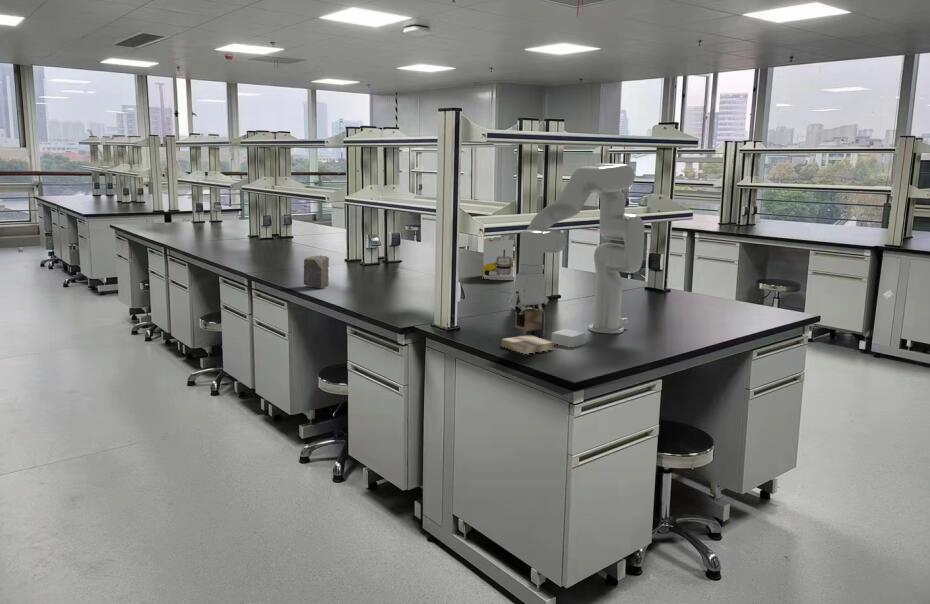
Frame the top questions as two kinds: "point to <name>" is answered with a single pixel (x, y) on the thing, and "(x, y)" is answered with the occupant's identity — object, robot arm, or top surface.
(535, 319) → the walnut cube
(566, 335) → the grey plastic block
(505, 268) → the packaging box
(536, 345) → the oak block
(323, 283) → the geological specimen
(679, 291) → the top surface
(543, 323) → the supplement bottle
